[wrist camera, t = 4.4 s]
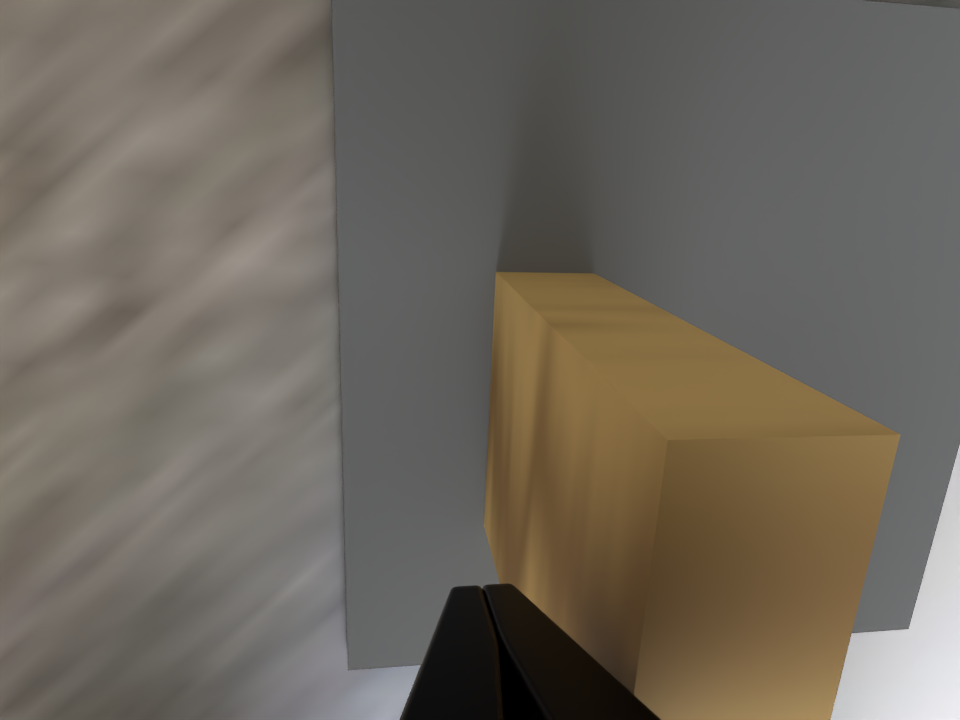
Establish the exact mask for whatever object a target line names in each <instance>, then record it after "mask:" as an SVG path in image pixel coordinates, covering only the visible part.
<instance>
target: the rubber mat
mask: <svg viewBox="0 0 960 720" xmlns="http://www.w3.org/2000/svg"><path fill="white" fill-rule="evenodd" d="M332 38H333V79H334V119H335V160H336V201H337V242H338V282H339V323H340V364H341V405H342V446H343V486H344V527H345V568H346V609H347V649H348V670H357V669H371V668H384V667H398V666H412V665H421V664H422V661H423V659H424V656H425V654H426V651H427V649H428V646H429V643H430V641H431V638H432V636H433V633H434V631H435V628H436V626H437V623H438V621H439V618H440V615H441V613H442V610H443V608H444V605H445V603H446V600H447V598H448V595H449V593H450V590H451V589H452V588H453V587H456V586H471V585H478V586H480V587H481V588H483V586H485V585H487V584H500V582H499V579H498V575H497V571H496V568H495V564H494V561H493V557H492V553H491V550H490V546H489V542H488V539H487V535H486V532H485V528H484V514H485V492H486V471H487V449H488V428H489V406H490V384H491V363H492V341H493V320H494V298H495V277H496V272H529V273H590V274H596V275H598V276H600V277H602V278H604V279H606V280H608V281H610V282H612V283H614V284H615V285H617V286H619V287H621V288H623V289H625V290H627V291H629V292H631V293H633V294H634V295H636V296H638V297H640V298H642V299H644V300H646V301H648V302H650V303H652V304H653V305H655V306H657V307H659V308H661V309H663V310H665V311H667V312H669V313H671V314H672V315H674V316H676V317H678V318H680V319H682V320H684V321H686V322H688V323H690V324H691V325H693V326H695V327H697V328H699V329H701V330H703V331H705V332H707V333H709V334H710V335H712V336H714V337H716V338H718V339H720V340H722V341H724V342H726V343H728V344H729V345H731V346H733V347H735V348H737V349H739V350H741V351H743V352H745V353H747V354H748V355H750V356H752V357H754V358H756V359H758V360H760V361H762V362H764V363H766V364H767V365H769V366H771V367H773V368H775V369H777V370H779V371H781V372H783V373H785V374H786V375H788V376H790V377H792V378H794V379H796V380H798V381H800V382H802V383H804V384H805V385H807V386H809V387H811V388H813V389H815V390H817V391H819V392H821V393H823V394H824V395H826V396H828V397H830V398H832V399H834V400H836V401H838V402H840V403H842V404H843V405H845V406H847V407H849V408H851V409H853V410H855V411H857V412H859V413H861V414H862V415H864V416H866V417H868V418H870V419H872V420H874V421H876V422H878V423H880V424H881V425H883V426H885V427H887V428H889V429H891V430H893V431H895V432H897V433H899V434H900V438H899V443H898V447H897V451H896V455H895V459H894V463H893V467H892V471H891V475H890V479H889V483H888V487H887V491H886V495H885V499H884V503H883V507H882V511H881V516H880V520H879V524H878V528H877V532H876V536H875V540H874V544H873V548H872V552H871V556H870V560H869V564H868V568H867V572H866V576H865V580H864V584H863V588H862V593H861V597H860V601H859V605H858V609H857V613H856V617H855V621H854V625H853V629H852V633H860V632H874V631H887V630H901V629H909V625H910V621H911V618H912V614H913V610H914V607H915V603H916V600H917V596H918V592H919V589H920V585H921V582H922V578H923V574H924V571H925V567H926V564H927V560H928V556H929V553H930V549H931V545H932V542H933V538H934V535H935V531H936V527H937V524H938V520H939V517H940V513H941V509H942V506H943V502H944V498H945V495H946V491H947V488H948V484H949V480H950V477H951V473H952V470H953V466H954V462H955V459H956V455H957V451H958V448H959V444H960V9H959V8H947V7H936V6H924V5H913V4H901V3H890V2H878V1H867V0H332Z"/></svg>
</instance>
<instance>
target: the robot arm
mask: <svg viewBox="0 0 960 720" xmlns="http://www.w3.org/2000/svg"><path fill="white" fill-rule="evenodd" d="M400 720H661V719H660V718H659V717H658V716H657V715H656V714H654V713H653V712H652V711H651V710H650V709H649V708H648V707H647V706H646V705H645V704H643V703H642V702H641V701H640V700H639V699H638V698H637V697H636V696H635V695H634V694H633V693H631V692H630V691H629V690H628V689H627V688H626V687H625V686H624V685H623V684H622V683H620V682H619V681H618V680H617V679H616V678H615V677H614V676H613V675H612V674H611V673H609V672H608V671H607V670H606V669H605V668H604V667H603V666H602V665H601V664H600V663H598V662H597V661H596V660H595V659H594V658H593V657H592V656H591V655H590V654H589V653H587V652H586V651H585V650H584V649H583V648H582V647H581V646H580V645H579V644H578V643H577V642H575V641H574V640H573V639H572V638H571V637H570V636H569V635H568V634H567V633H566V632H564V631H563V630H562V629H561V628H560V627H559V626H558V625H557V624H556V623H555V622H553V621H552V620H551V619H550V618H549V617H548V616H547V615H546V614H545V613H544V612H542V611H541V610H540V609H539V608H538V607H537V606H536V605H535V604H534V603H533V602H531V601H530V600H529V599H528V598H527V597H526V596H525V595H524V594H523V593H522V592H520V591H519V590H518V589H517V588H516V587H515V586H514V585H512V584H510V583H503V584H487V585H485V586H483V588H481V587H480V586H478V585H471V586H456V587H453V588H452V589H451V590H450V593H449V595H448V598H447V600H446V603H445V605H444V608H443V610H442V613H441V615H440V618H439V621H438V623H437V626H436V628H435V631H434V633H433V636H432V638H431V641H430V643H429V646H428V649H427V651H426V654H425V656H424V659H423V661H422V664H421V666H420V669H419V671H418V674H417V677H416V679H415V682H414V684H413V687H412V689H411V692H410V694H409V697H408V699H407V702H406V705H405V707H404V710H403V712H402V715H401V717H400Z"/></svg>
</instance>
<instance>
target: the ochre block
mask: <svg viewBox="0 0 960 720" xmlns="http://www.w3.org/2000/svg"><path fill="white" fill-rule="evenodd" d="M899 438H900V434H899V433H897V432H895V431H893V430H891V429H889V428H887V427H885V426H883V425H881V424H880V423H878V422H876V421H874V420H872V419H870V418H868V417H866V416H864V415H862V414H861V413H859V412H857V411H855V410H853V409H851V408H849V407H847V406H845V405H843V404H842V403H840V402H838V401H836V400H834V399H832V398H830V397H828V396H826V395H824V394H823V393H821V392H819V391H817V390H815V389H813V388H811V387H809V386H807V385H805V384H804V383H802V382H800V381H798V380H796V379H794V378H792V377H790V376H788V375H786V374H785V373H783V372H781V371H779V370H777V369H775V368H773V367H771V366H769V365H767V364H766V363H764V362H762V361H760V360H758V359H756V358H754V357H752V356H750V355H748V354H747V353H745V352H743V351H741V350H739V349H737V348H735V347H733V346H731V345H729V344H728V343H726V342H724V341H722V340H720V339H718V338H716V337H714V336H712V335H710V334H709V333H707V332H705V331H703V330H701V329H699V328H697V327H695V326H693V325H691V324H690V323H688V322H686V321H684V320H682V319H680V318H678V317H676V316H674V315H672V314H671V313H669V312H667V311H665V310H663V309H661V308H659V307H657V306H655V305H653V304H652V303H650V302H648V301H646V300H644V299H642V298H640V297H638V296H636V295H634V294H633V293H631V292H629V291H627V290H625V289H623V288H621V287H619V286H617V285H615V284H614V283H612V282H610V281H608V280H606V279H604V278H602V277H600V276H598V275H596V274H590V273H529V272H496V277H495V298H494V320H493V341H492V363H491V384H490V406H489V428H488V449H487V471H486V492H485V514H484V528H485V532H486V535H487V539H488V542H489V546H490V550H491V553H492V557H493V561H494V564H495V568H496V571H497V575H498V579H499V582H500V584H503V583H510V584H512V585H514V586H515V587H516V588H517V589H518V590H519V591H520V592H522V593H523V594H524V595H525V596H526V597H527V598H528V599H529V600H530V601H531V602H533V603H534V604H535V605H536V606H537V607H538V608H539V609H540V610H541V611H542V612H544V613H545V614H546V615H547V616H548V617H549V618H550V619H551V620H552V621H553V622H555V623H556V624H557V625H558V626H559V627H560V628H561V629H562V630H563V631H564V632H566V633H567V634H568V635H569V636H570V637H571V638H572V639H573V640H574V641H575V642H577V643H578V644H579V645H580V646H581V647H582V648H583V649H584V650H585V651H586V652H587V653H589V654H590V655H591V656H592V657H593V658H594V659H595V660H596V661H597V662H598V663H600V664H601V665H602V666H603V667H604V668H605V669H606V670H607V671H608V672H609V673H611V674H612V675H613V676H614V677H615V678H616V679H617V680H618V681H619V682H620V683H622V684H623V685H624V686H625V687H626V688H627V689H628V690H629V691H630V692H631V693H633V694H634V695H635V696H636V697H637V698H638V699H639V700H640V701H641V702H642V703H643V704H645V705H646V706H647V707H648V708H649V709H650V710H651V711H652V712H653V713H654V714H656V715H657V716H658V717H659V718H660V719H661V720H830V718H831V714H832V710H833V706H834V702H835V698H836V694H837V690H838V686H839V682H840V678H841V674H842V670H843V666H844V661H845V657H846V653H847V649H848V645H849V641H850V637H851V633H852V629H853V625H854V621H855V617H856V613H857V609H858V605H859V601H860V597H861V593H862V588H863V584H864V580H865V576H866V572H867V568H868V564H869V560H870V556H871V552H872V548H873V544H874V540H875V536H876V532H877V528H878V524H879V520H880V516H881V511H882V507H883V503H884V499H885V495H886V491H887V487H888V483H889V479H890V475H891V471H892V467H893V463H894V459H895V455H896V451H897V447H898V443H899Z"/></svg>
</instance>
